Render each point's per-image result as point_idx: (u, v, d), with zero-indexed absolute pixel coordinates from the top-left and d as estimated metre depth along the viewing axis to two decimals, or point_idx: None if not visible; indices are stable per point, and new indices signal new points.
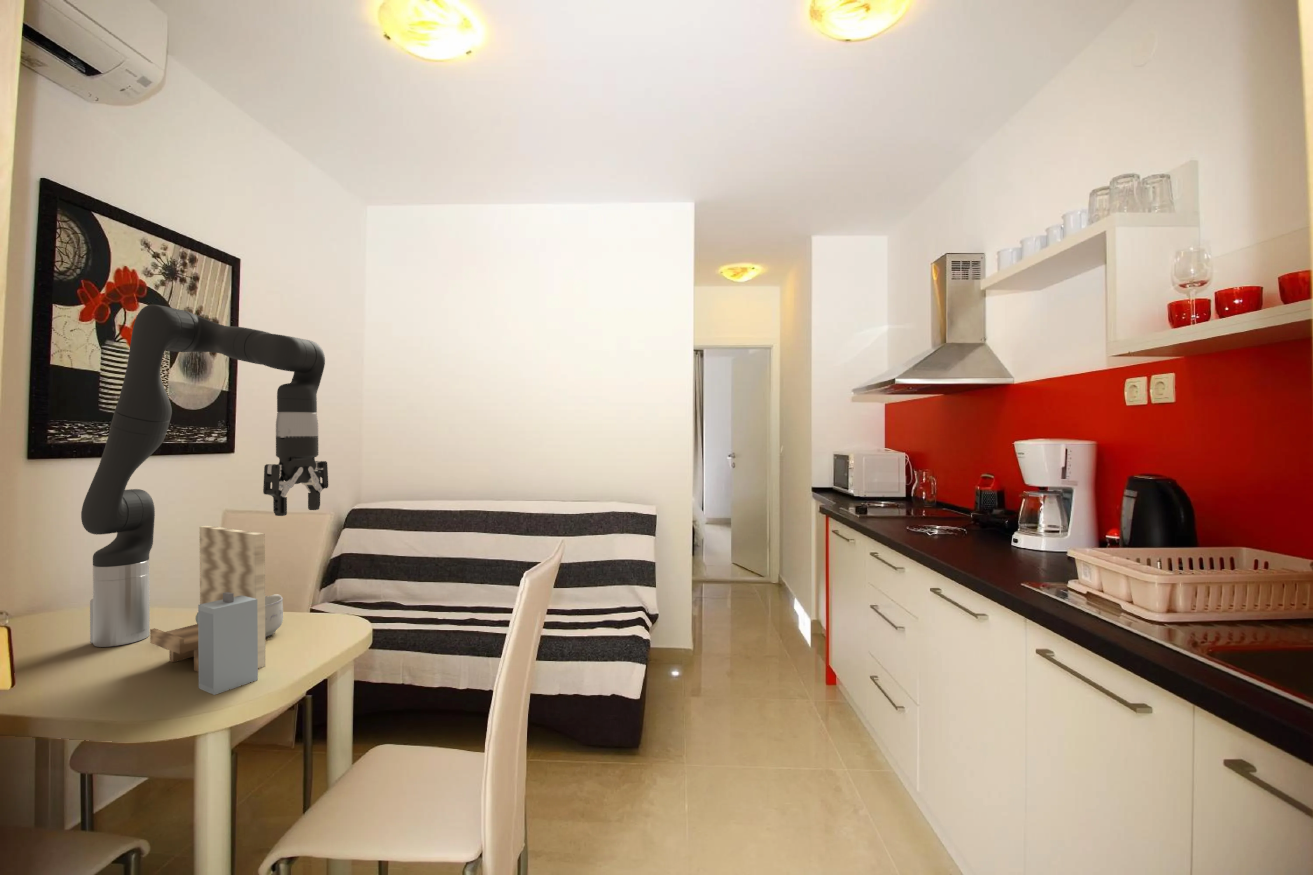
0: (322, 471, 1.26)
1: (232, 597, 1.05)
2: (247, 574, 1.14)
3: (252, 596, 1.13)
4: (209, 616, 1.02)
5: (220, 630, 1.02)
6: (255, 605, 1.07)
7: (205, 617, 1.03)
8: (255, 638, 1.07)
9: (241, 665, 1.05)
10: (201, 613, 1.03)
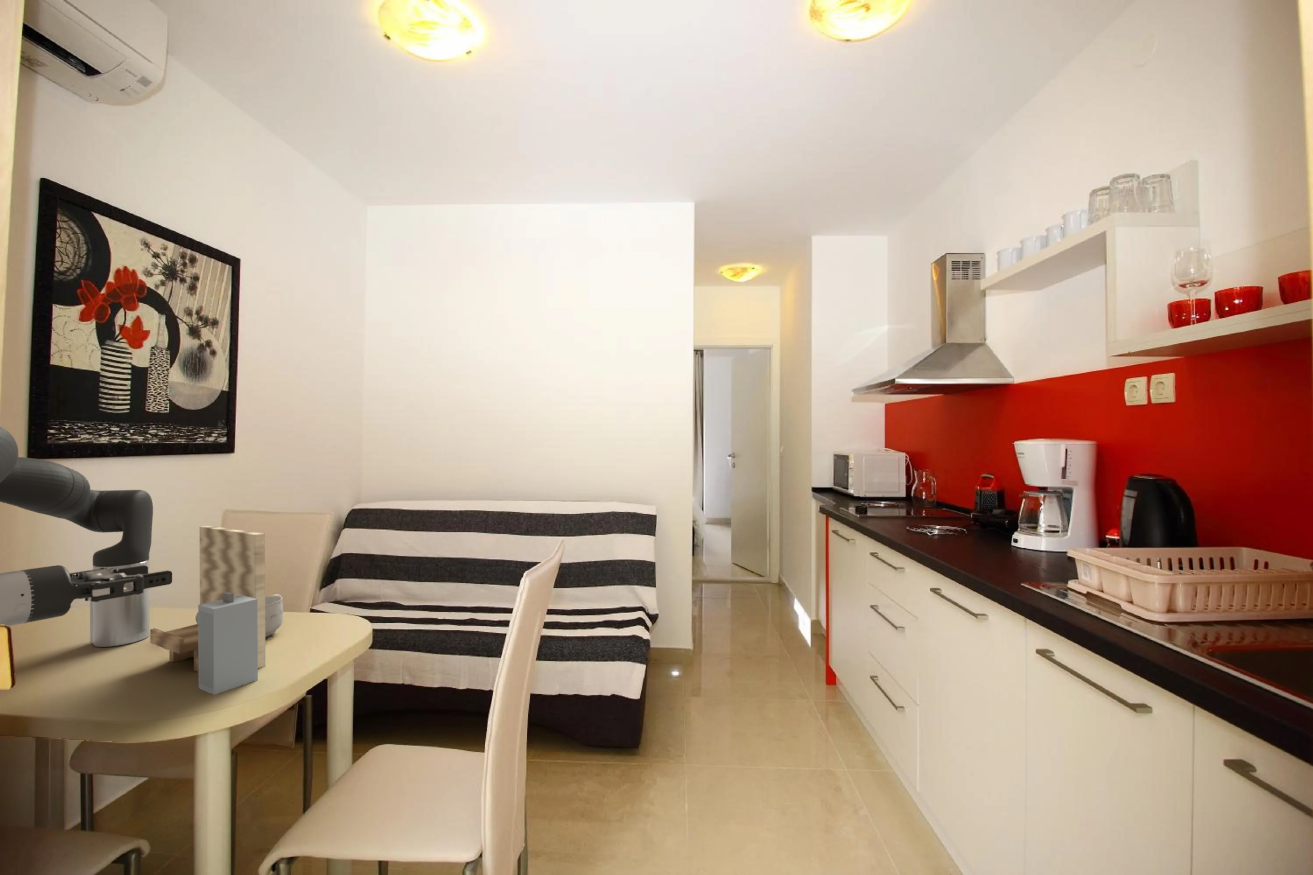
0: None
1: (232, 597, 1.05)
2: (247, 574, 1.14)
3: (252, 596, 1.13)
4: (209, 616, 1.02)
5: (220, 631, 1.02)
6: (255, 605, 1.07)
7: (205, 617, 1.03)
8: (255, 638, 1.07)
9: (241, 665, 1.05)
10: (201, 613, 1.03)
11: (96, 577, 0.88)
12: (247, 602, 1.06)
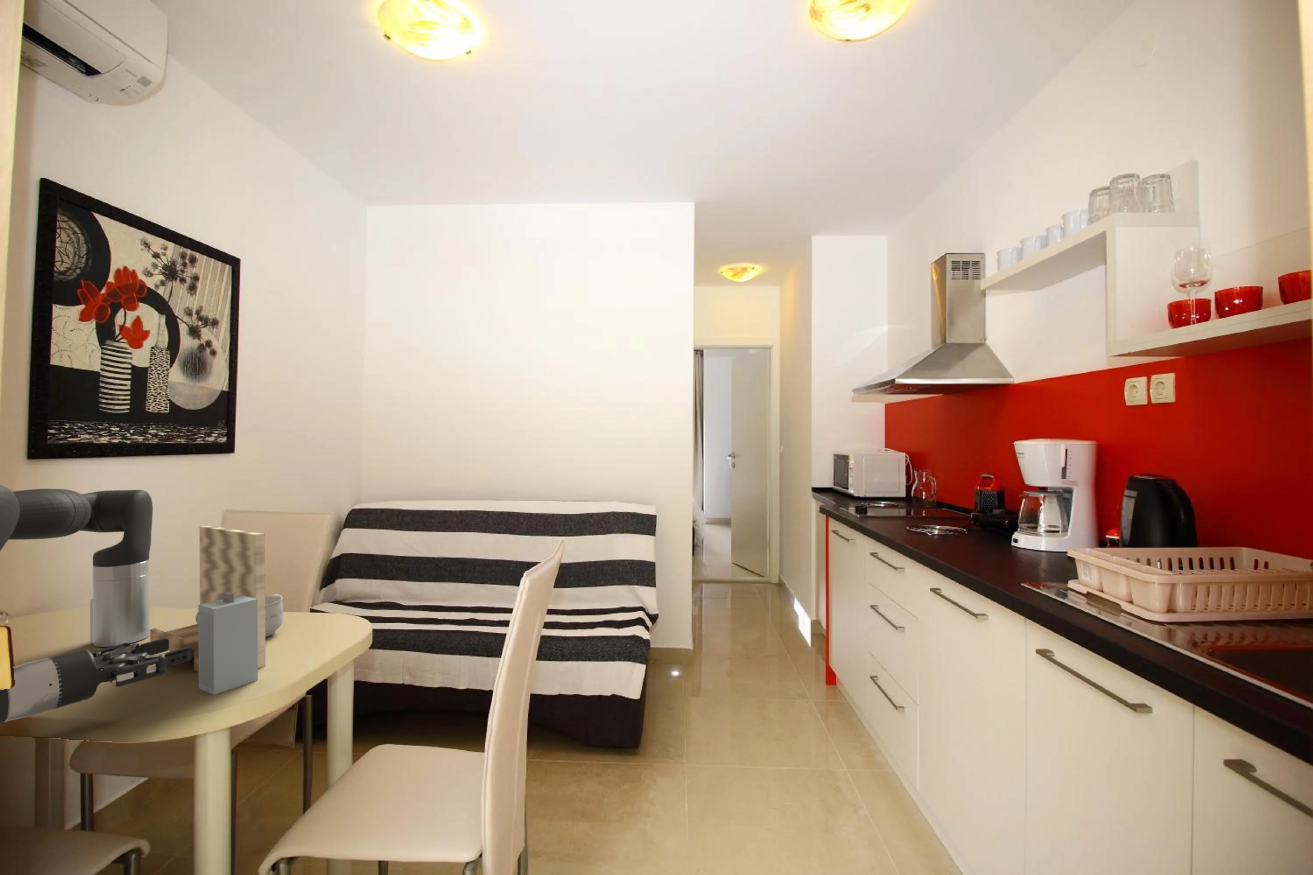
0: None
1: (232, 597, 1.05)
2: (247, 574, 1.14)
3: (252, 596, 1.13)
4: (209, 616, 1.02)
5: (220, 630, 1.02)
6: (255, 605, 1.07)
7: (205, 617, 1.03)
8: (255, 638, 1.07)
9: (241, 665, 1.05)
10: (201, 613, 1.03)
11: (120, 659, 0.91)
12: (247, 602, 1.06)
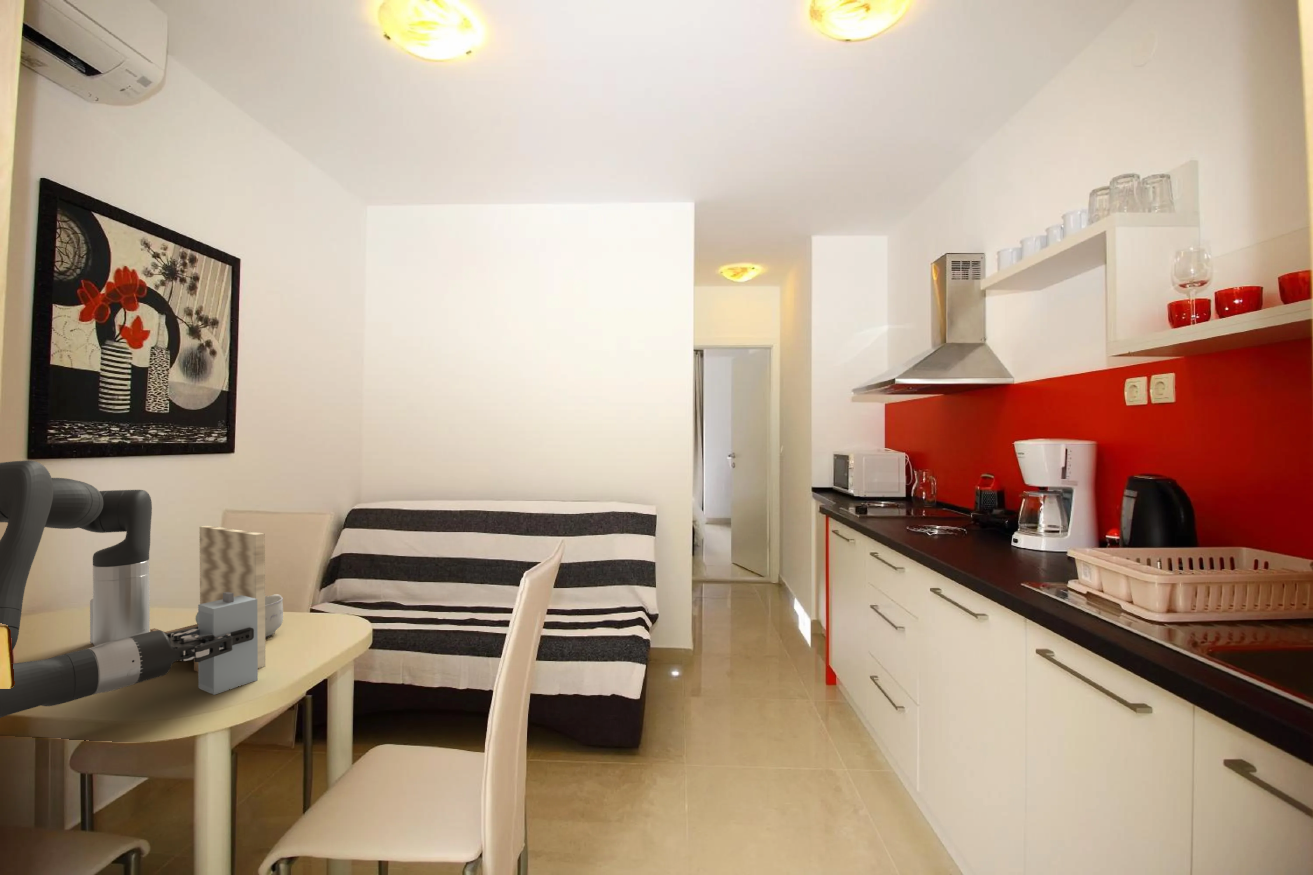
0: None
1: (232, 597, 1.05)
2: (247, 574, 1.14)
3: (252, 596, 1.13)
4: (209, 616, 1.02)
5: (220, 630, 1.02)
6: (255, 605, 1.07)
7: (205, 617, 1.03)
8: (255, 638, 1.07)
9: (241, 665, 1.05)
10: (201, 613, 1.03)
11: (192, 638, 0.99)
12: (247, 602, 1.06)
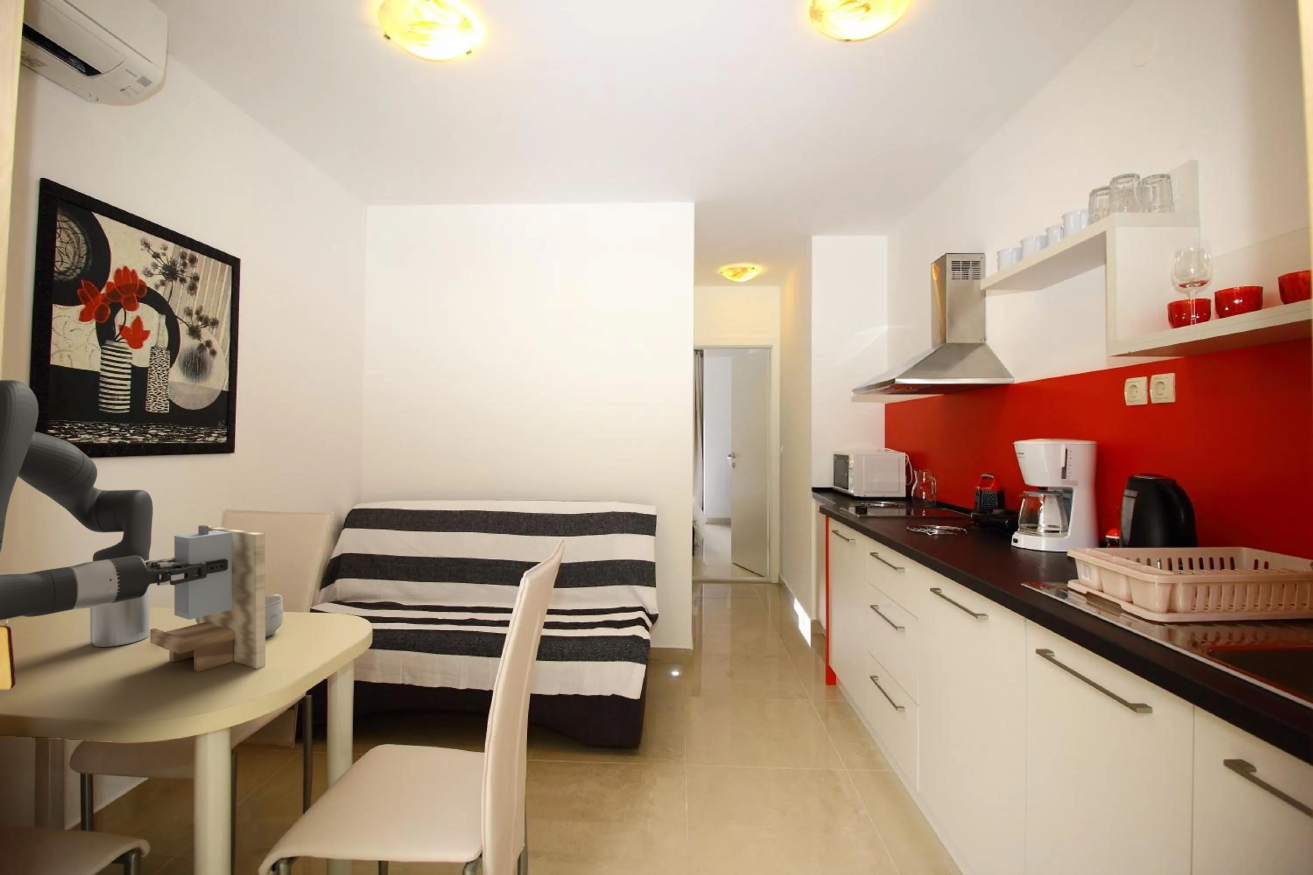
0: None
1: (207, 529, 1.11)
2: (247, 574, 1.14)
3: (252, 596, 1.13)
4: (185, 545, 1.07)
5: (195, 559, 1.08)
6: (229, 538, 1.13)
7: (181, 547, 1.08)
8: (229, 569, 1.13)
9: (215, 594, 1.11)
10: (177, 543, 1.09)
11: (168, 565, 1.04)
12: (221, 535, 1.11)
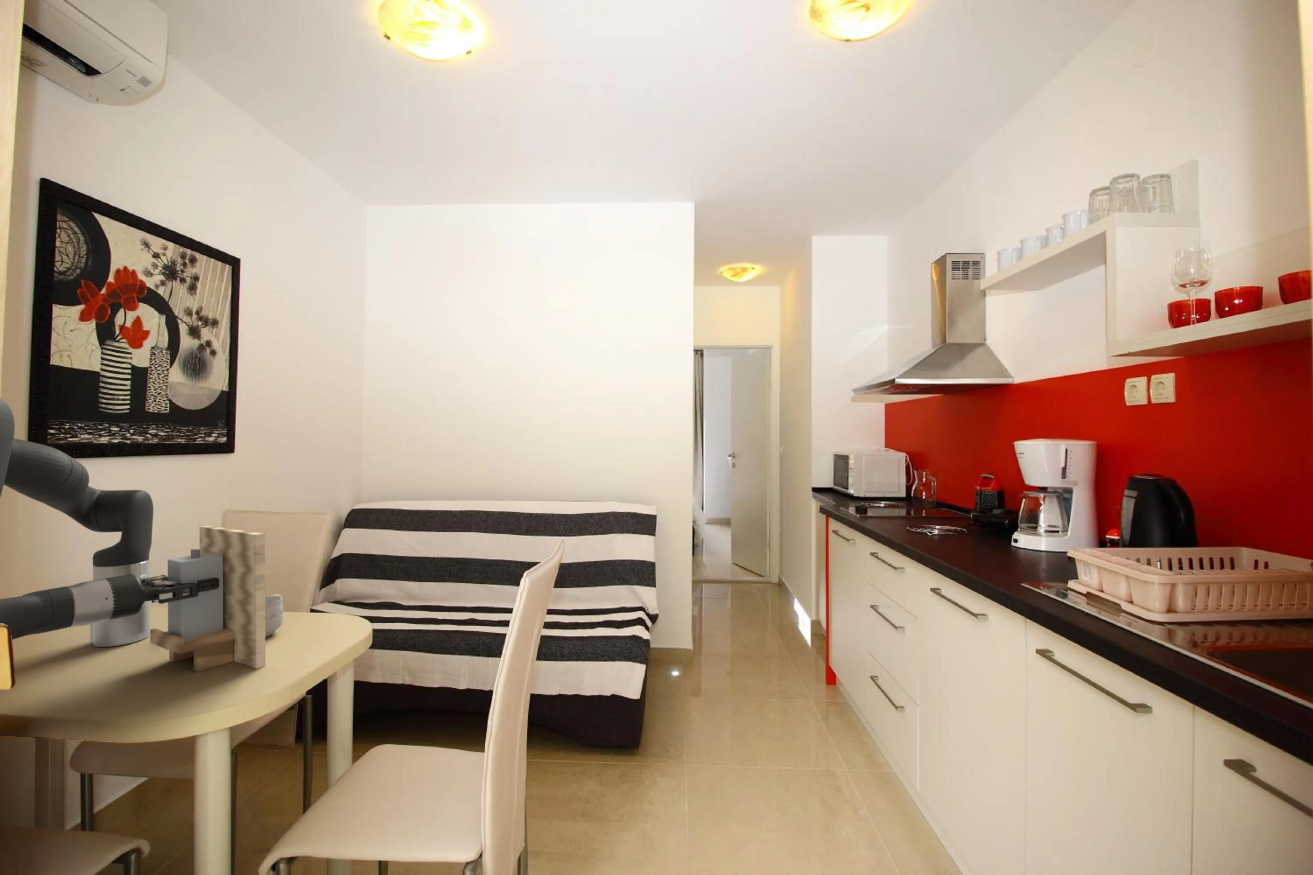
0: None
1: (199, 553, 1.15)
2: (247, 574, 1.14)
3: (252, 596, 1.13)
4: (177, 568, 1.12)
5: None
6: (220, 561, 1.17)
7: (173, 570, 1.13)
8: (220, 591, 1.17)
9: (207, 615, 1.15)
10: (170, 567, 1.13)
11: (160, 583, 1.09)
12: (213, 558, 1.16)
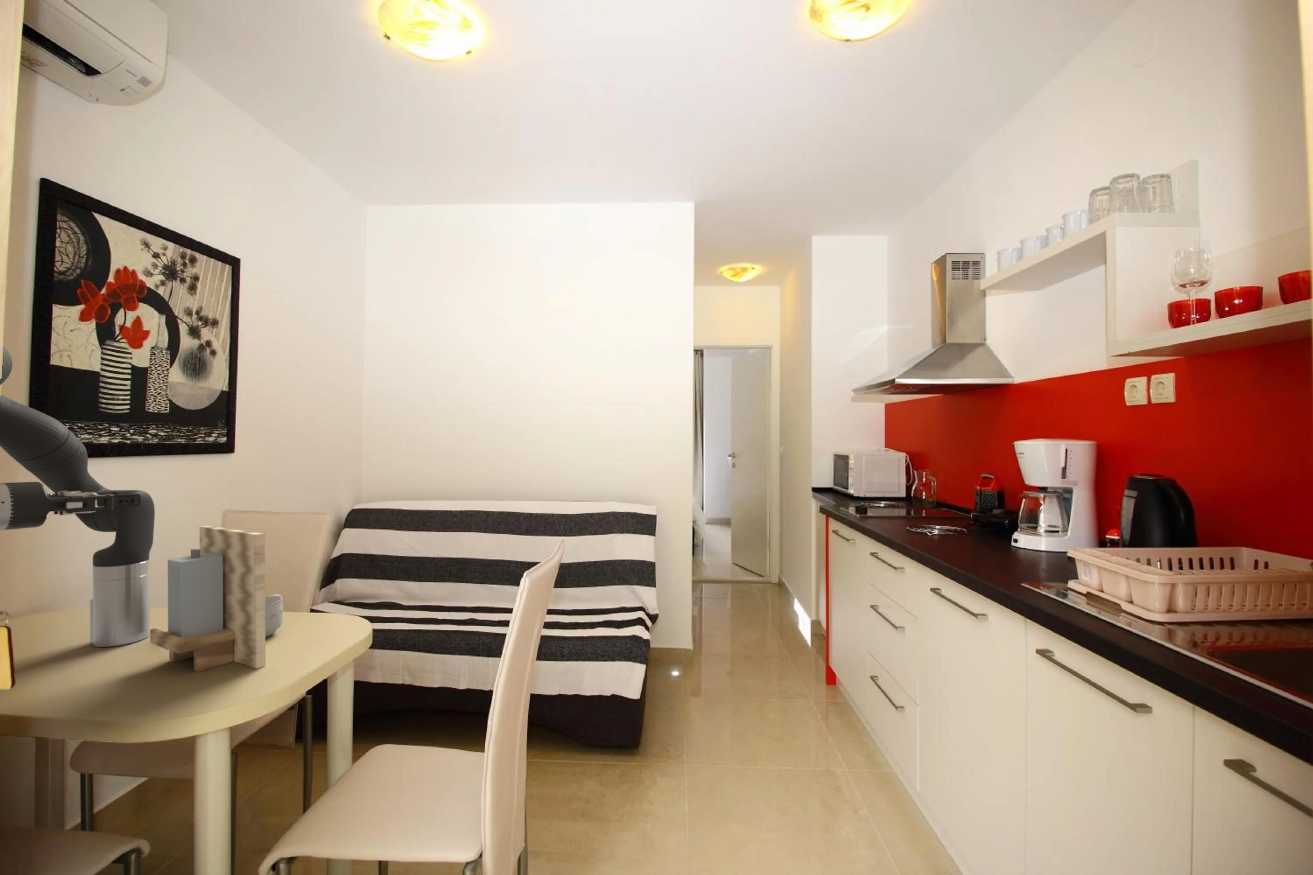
0: None
1: (199, 553, 1.15)
2: (247, 574, 1.14)
3: (252, 596, 1.13)
4: (177, 568, 1.12)
5: (187, 582, 1.12)
6: (220, 561, 1.17)
7: (173, 570, 1.13)
8: (220, 591, 1.17)
9: (207, 615, 1.15)
10: (170, 567, 1.13)
11: (71, 494, 0.98)
12: (213, 558, 1.16)
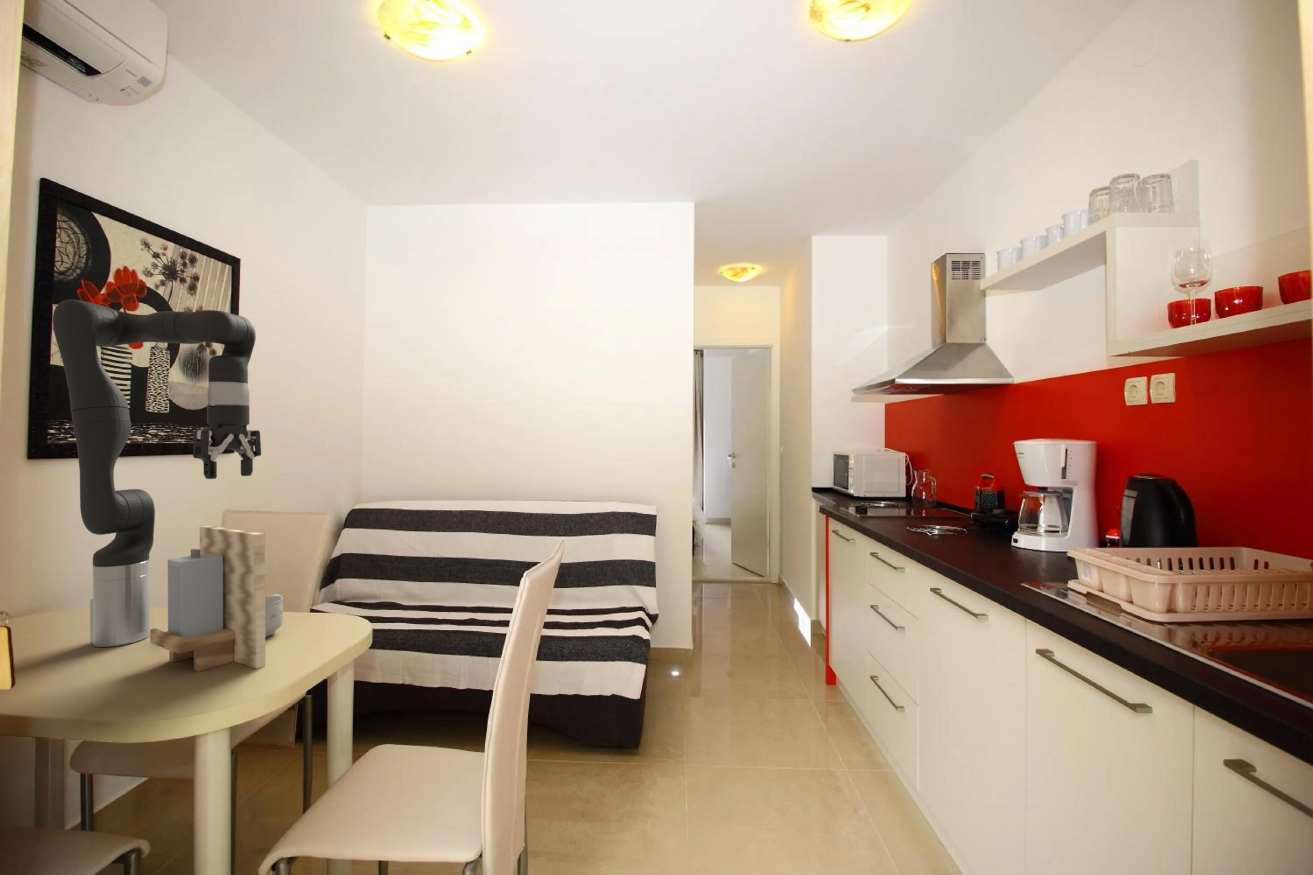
0: (254, 439, 1.34)
1: (199, 553, 1.15)
2: (247, 574, 1.14)
3: (252, 596, 1.13)
4: (177, 568, 1.12)
5: (187, 582, 1.12)
6: (220, 561, 1.17)
7: (173, 570, 1.13)
8: (220, 591, 1.17)
9: (207, 615, 1.15)
10: (170, 567, 1.13)
11: None
12: (213, 558, 1.16)
